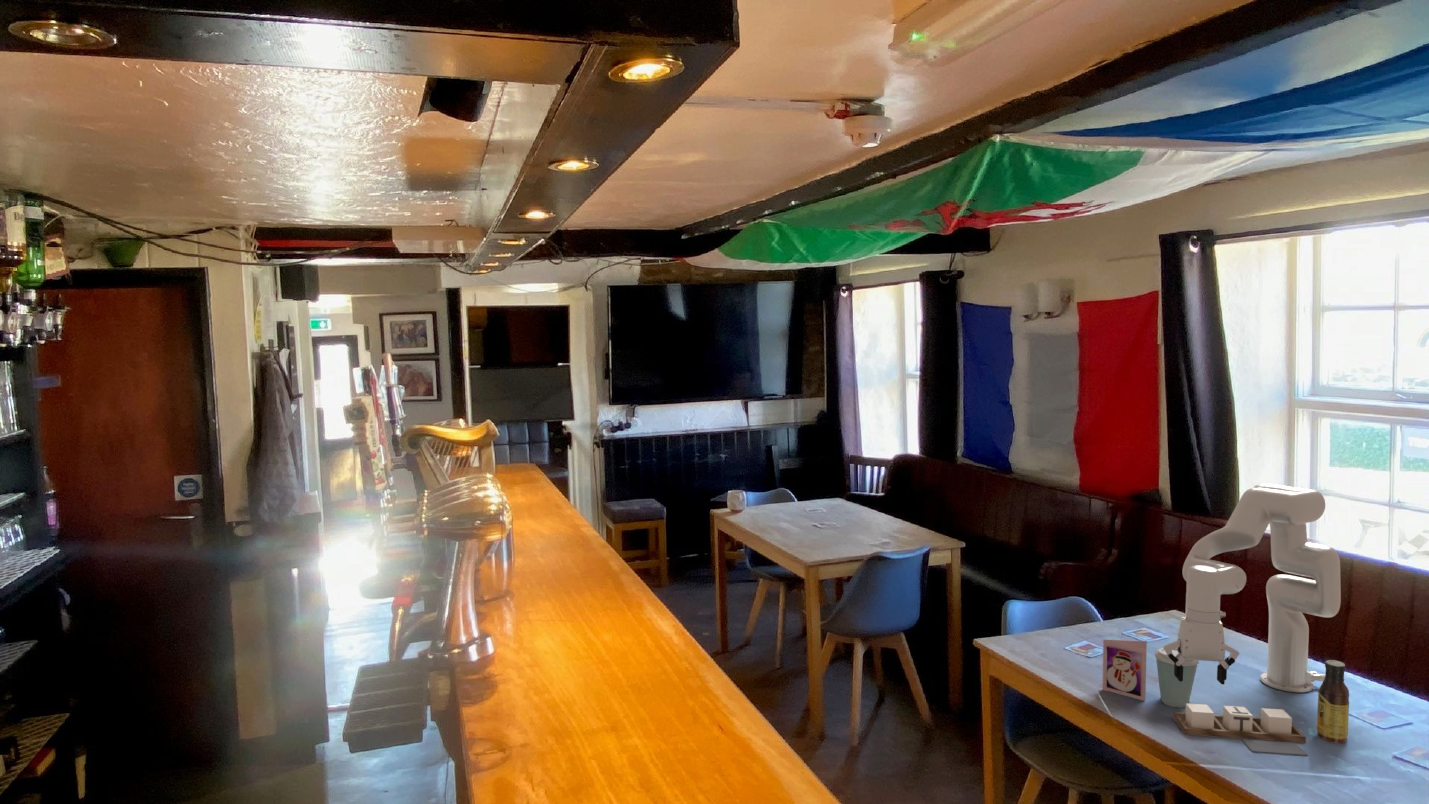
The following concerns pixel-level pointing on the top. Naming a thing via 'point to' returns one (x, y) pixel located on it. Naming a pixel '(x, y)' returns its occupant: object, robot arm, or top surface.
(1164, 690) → the disposable coffee cup
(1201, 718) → the blank cube
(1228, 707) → the lettered cube
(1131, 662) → the greeting card
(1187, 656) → the robot arm
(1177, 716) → the organizer
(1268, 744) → the slate mat
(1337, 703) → the sauce bottle
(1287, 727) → the blank cube
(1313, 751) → the top surface
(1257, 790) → the top surface
